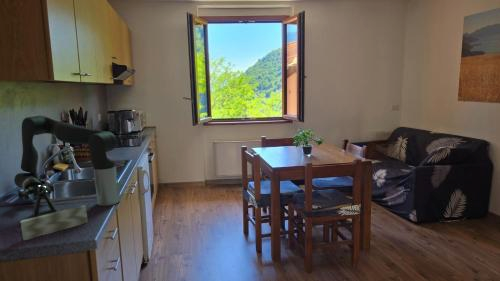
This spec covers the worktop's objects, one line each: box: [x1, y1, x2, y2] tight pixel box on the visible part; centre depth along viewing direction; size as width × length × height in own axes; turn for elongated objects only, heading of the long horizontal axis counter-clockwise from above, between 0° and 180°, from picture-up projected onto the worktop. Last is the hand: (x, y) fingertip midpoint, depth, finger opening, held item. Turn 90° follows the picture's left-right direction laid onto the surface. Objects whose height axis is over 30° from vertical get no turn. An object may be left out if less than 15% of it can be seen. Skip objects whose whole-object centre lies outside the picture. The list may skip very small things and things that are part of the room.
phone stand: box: [32, 185, 58, 218], centre depth 148 cm, size 9×6×12 cm, turn 123°
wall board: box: [19, 204, 89, 241], centre depth 137 cm, size 22×14×7 cm, turn 131°
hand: (38, 194), depth 155 cm, fingers open, 8 cm apart
